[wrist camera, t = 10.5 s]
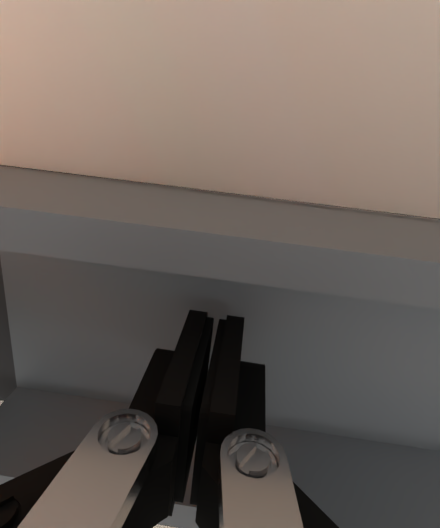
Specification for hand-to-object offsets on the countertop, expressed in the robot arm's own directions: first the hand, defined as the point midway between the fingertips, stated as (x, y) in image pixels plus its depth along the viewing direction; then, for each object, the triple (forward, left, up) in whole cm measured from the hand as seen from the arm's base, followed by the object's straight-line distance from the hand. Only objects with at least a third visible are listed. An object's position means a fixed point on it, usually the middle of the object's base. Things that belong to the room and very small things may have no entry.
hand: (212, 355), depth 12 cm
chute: (-2, 0, -2) cm, 2 cm away
